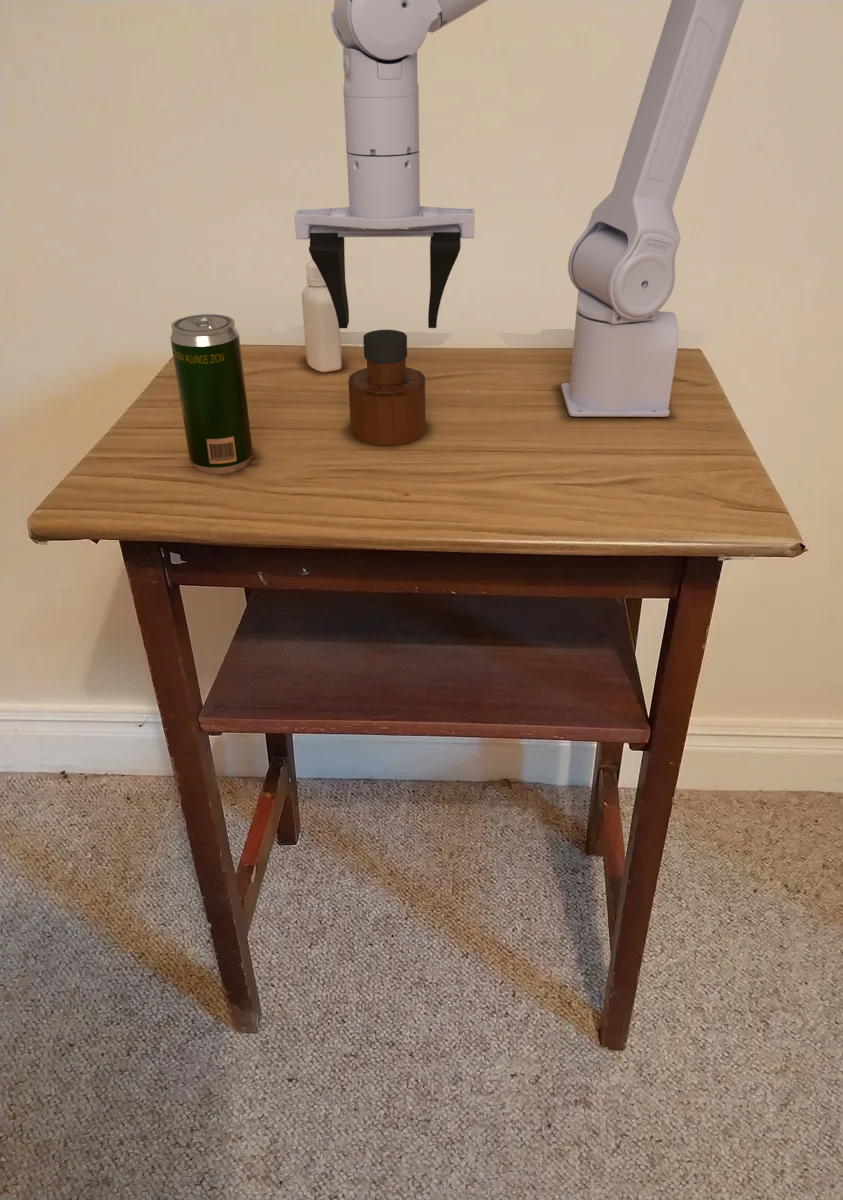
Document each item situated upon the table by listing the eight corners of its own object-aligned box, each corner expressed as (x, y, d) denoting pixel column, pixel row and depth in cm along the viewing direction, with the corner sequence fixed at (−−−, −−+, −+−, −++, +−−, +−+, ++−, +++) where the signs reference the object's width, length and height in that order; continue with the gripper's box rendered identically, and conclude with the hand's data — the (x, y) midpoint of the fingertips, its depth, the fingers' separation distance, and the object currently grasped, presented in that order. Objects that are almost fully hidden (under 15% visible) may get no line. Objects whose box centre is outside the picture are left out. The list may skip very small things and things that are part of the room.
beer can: (261, 468, 77) (245, 327, 71) (199, 480, 75) (177, 337, 69) (243, 445, 81) (226, 310, 75) (183, 456, 79) (161, 318, 73)
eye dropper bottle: (348, 356, 101) (342, 243, 95) (340, 374, 97) (333, 256, 90) (309, 355, 102) (300, 243, 95) (299, 373, 97) (289, 256, 90)
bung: (408, 362, 82) (407, 329, 81) (406, 377, 79) (406, 342, 77) (366, 362, 82) (364, 329, 81) (363, 376, 79) (361, 342, 77)
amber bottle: (425, 416, 87) (425, 344, 83) (424, 445, 81) (423, 369, 77) (354, 416, 87) (351, 344, 83) (348, 445, 81) (344, 369, 77)
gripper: (474, 143, 74) (470, 311, 82) (297, 145, 75) (310, 311, 82) (476, 156, 68) (472, 335, 76) (285, 157, 69) (300, 335, 76)
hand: (388, 324), depth 79 cm, fingers open, 7 cm apart
